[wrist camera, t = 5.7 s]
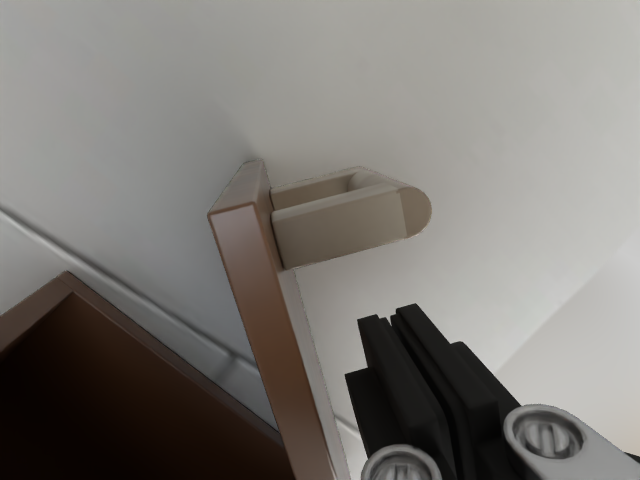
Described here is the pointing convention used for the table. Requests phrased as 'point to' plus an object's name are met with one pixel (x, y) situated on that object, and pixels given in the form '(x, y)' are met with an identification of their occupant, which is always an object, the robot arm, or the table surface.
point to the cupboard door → (282, 289)
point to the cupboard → (115, 401)
